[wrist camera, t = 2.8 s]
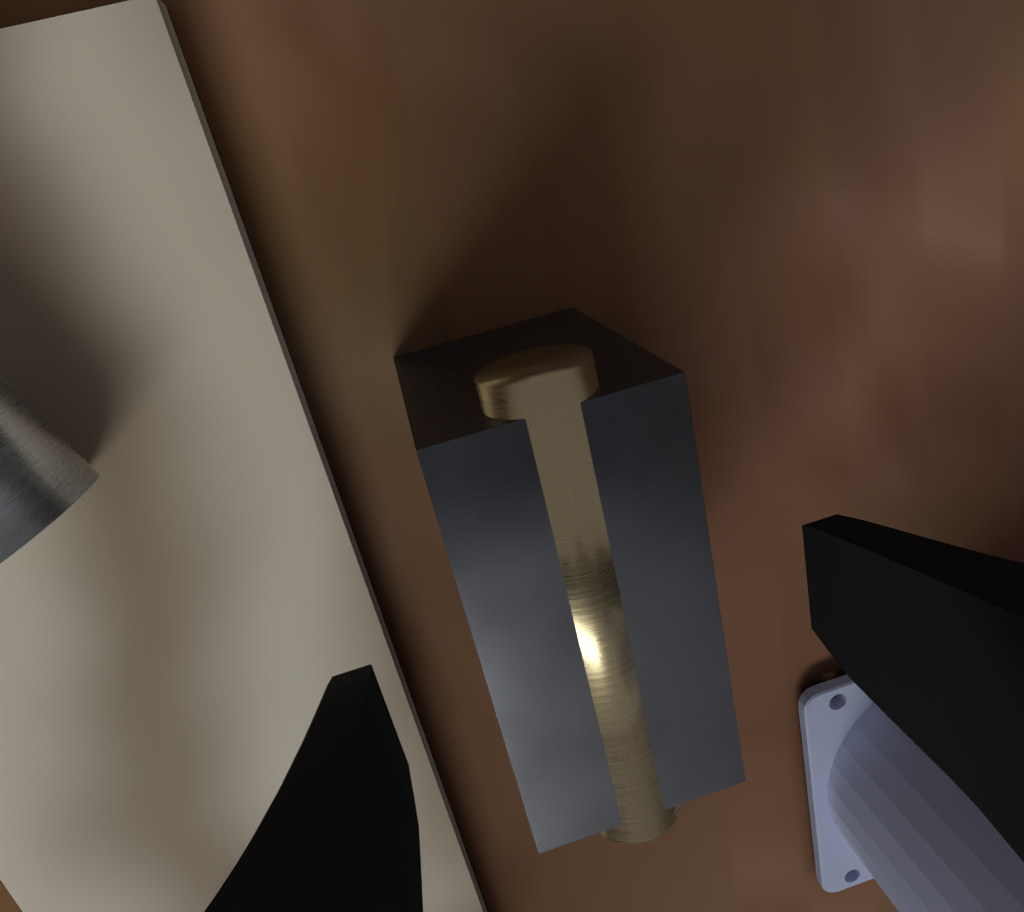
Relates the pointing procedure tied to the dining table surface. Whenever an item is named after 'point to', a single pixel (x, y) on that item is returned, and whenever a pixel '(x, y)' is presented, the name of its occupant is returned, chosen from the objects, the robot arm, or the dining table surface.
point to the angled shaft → (34, 473)
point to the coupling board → (162, 500)
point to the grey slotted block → (581, 568)
